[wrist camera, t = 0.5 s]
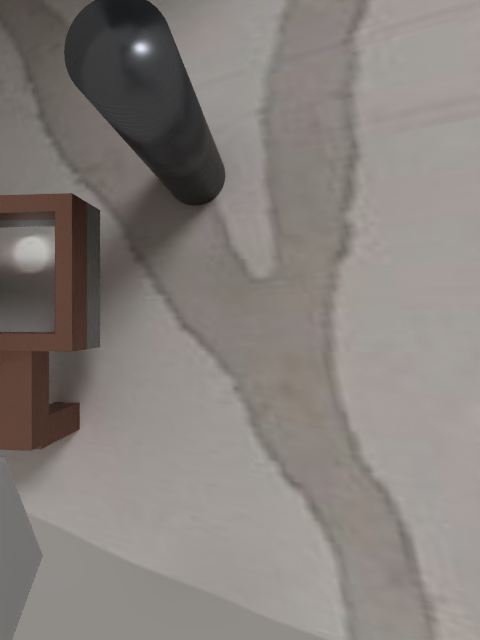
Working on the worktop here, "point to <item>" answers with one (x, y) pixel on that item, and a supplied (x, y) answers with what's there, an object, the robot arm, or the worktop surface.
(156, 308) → the worktop surface
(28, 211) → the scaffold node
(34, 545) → the robot arm
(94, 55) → the pin
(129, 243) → the worktop surface
